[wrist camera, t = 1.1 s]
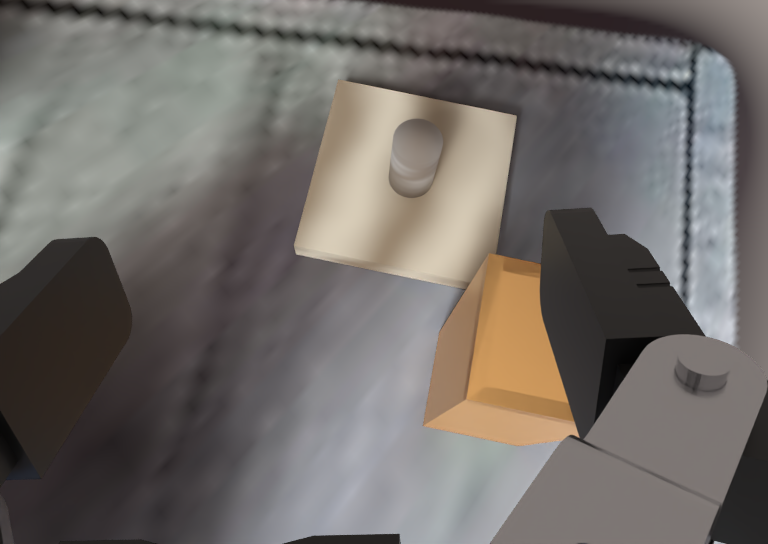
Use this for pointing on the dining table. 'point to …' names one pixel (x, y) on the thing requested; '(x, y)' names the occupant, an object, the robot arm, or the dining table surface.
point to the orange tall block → (499, 362)
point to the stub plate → (402, 223)
